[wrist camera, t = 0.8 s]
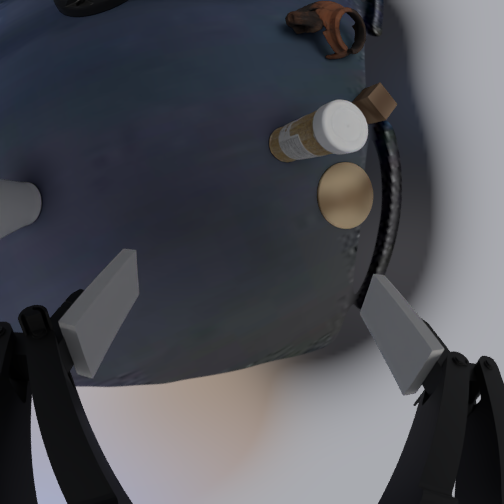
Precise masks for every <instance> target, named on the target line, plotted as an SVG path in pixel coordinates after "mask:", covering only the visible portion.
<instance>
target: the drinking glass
mask: <svg viewBox="0 0 504 504" xmlns="http://www.w3.org/2000/svg"><path fill="white" fill-rule="evenodd" d="M40 210H41V195H40V192H39V190H38V189H37V187H36V186H35V185H34V184H32V183H29V182H17V181H11V180H5V179H0V239H2V238H3V237H5V236H7V235H9V234H11V233H12V232H14V231H16V230H18V229H20V228H22V227H25V226H28V225H30V224H32V223H33V222H34V221H35V220H36V219H37V217H38V216H39V213H40Z"/></svg>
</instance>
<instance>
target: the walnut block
mask: <svg viewBox="0 0 504 504" xmlns="http://www.w3.org/2000/svg"><path fill="white" fill-rule="evenodd" d="M352 103H353V104H354V105H355V106H357V107H358V108H359V109H360V111H361V112H362V113H363V115H364V117H365V119H366V122H367V123H368V124H371V123H375V122H379V121H384V120H386V119H387V118H388V116H389V115H390V114H391V112H392V111H393V109H394V108H395V107H396V105H397V103H396V102H395V101H394V100H393V98H392V97H391V95H390V94H389V93H388V92H387V90H386V89H385V88H384V87H383V86H382V84H381V83H378V84H375V85H373V86H370V87H367V88H365V89H363V90H362V92H361V93H360V94H359V95H358V96H357V97H356V98H355V99H354V101H353V102H352Z"/></svg>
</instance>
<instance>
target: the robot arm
mask: <svg viewBox="0 0 504 504" xmlns="http://www.w3.org/2000/svg"><path fill="white" fill-rule="evenodd" d="M125 1H127V0H54V3H55V5H56V6H57V8H58V10H59V11H60V12H61V13H63V14H64V15H67V16H73V17H81V16H88V15H93V14H97V13H100V12H103V11H106V10H108V9H111V8H113V7H116V6H118V5H120V4H122V3H123V2H125ZM138 296H139V285H138V272H137V256H136V250H131V249H123V250H122V251H121V252H120V253H119V254H118V255H117V256H116V257H115V258H114V259H113V260H112V261H111V262H110V263H109V264H108V265H107V266H106V267H105V268H104V270H103V271H102V272H101V273H100V274H99V275H98V276H97V277H96V278H95V279H94V280H93V282H92V283H91V284H90V285H89V286H88V287H87V288H86V289H85V290H82V289H79V290H77V291H76V292H74V293H72V294H71V295H70V296H69V297H68V298H67V299H66V301H65V302H64V303H63V304H62V305H61V307H59V308H58V310H57V311H56V312H55V313H54V314H53V315H52V317H51V318H50V317H49V314H48V311H47V309H46V308H45V307H44V306H41V305H32V306H29V307H27V308H25V309H24V310H22V311H21V313H20V314H19V317H18V320H19V323H20V325H21V328H22V331H23V333H17V332H13V329H12V327H11V325H10V324H9V323H8V322H0V504H38V503H37V497H36V491H35V484H34V477H33V468H32V455H31V398H32V397H33V402H34V407H35V411H36V416H37V420H38V424H39V428H40V431H41V435H42V439H43V442H44V445H45V448H46V451H47V455H48V457H49V460H50V463H51V466H52V469H53V471H54V474H55V476H56V479H57V481H58V484H59V486H60V488H61V491H62V493H63V495H64V497H65V499H66V502H67V504H133V503H132V502H131V500H130V499H129V497H128V496H127V494H126V493H125V491H124V490H123V488H122V486H121V485H120V483H119V481H118V479H117V478H116V476H115V474H114V473H113V471H112V469H111V467H110V465H109V463H108V462H107V460H106V458H105V456H104V454H103V452H102V450H101V448H100V446H99V444H98V442H97V439H96V437H95V435H94V433H93V431H92V428H91V426H90V424H89V421H88V419H87V416H86V414H85V412H84V409H83V406H82V404H81V401H80V398H79V395H78V393H77V390H76V387H75V384H74V381H73V378H72V375H71V373H70V370H71V368H72V366H73V365H74V367H75V369H76V371H77V374H79V375H82V376H86V377H89V378H92V379H93V377H94V375H95V373H96V371H97V369H98V368H99V366H100V364H101V362H102V360H103V358H104V356H105V354H106V352H107V350H108V348H109V347H110V345H111V343H112V341H113V339H114V337H115V336H116V334H117V332H118V330H119V328H120V327H121V325H122V323H123V321H124V320H125V318H126V316H127V314H128V313H129V311H130V309H131V307H132V306H133V304H134V302H135V301H136V299H137V297H138ZM360 315H361V317H362V319H363V321H364V322H365V324H366V326H367V328H368V330H369V331H370V333H371V335H372V337H373V339H374V340H375V342H376V344H377V346H378V347H379V350H380V351H381V353H382V355H383V357H384V359H385V361H386V363H387V365H388V366H389V368H390V370H391V372H392V374H393V376H394V378H395V380H396V382H397V384H398V386H399V388H400V390H401V392H402V394H403V395H409V394H414V393H416V392H417V391H418V389H419V388H420V386H421V385H423V387H424V388H425V390H424V391H423V393H422V394H421V395H420V397H419V398H418V399H417V401H416V402H415V404H414V406H416V404H417V403H419V404H418V408H417V411H416V414H415V418H414V421H413V424H412V427H411V430H410V432H409V435H408V438H407V441H406V443H405V446H404V449H403V451H402V454H401V456H400V459H399V461H398V463H397V466H396V468H395V470H394V473H393V475H392V477H391V479H390V481H389V483H388V485H387V487H386V489H385V491H384V493H383V495H382V497H381V499H380V501H379V503H378V504H504V383H503V380H502V378H501V375H500V372H499V369H498V366H497V364H496V363H495V362H494V360H493V359H491V358H490V357H487V356H482V357H480V359H479V360H478V362H477V363H476V364H473V363H469V361H468V360H467V358H466V357H465V356H464V355H462V354H460V353H458V352H450V351H449V350H448V348H447V347H446V346H445V344H444V343H443V342H442V340H441V339H440V338H439V337H438V336H437V334H436V333H435V331H433V329H432V328H431V326H430V325H429V324H428V323H427V322H425V321H424V320H423V319H422V318H420V317H419V315H418V314H417V313H416V312H415V311H414V309H413V308H412V307H411V306H410V304H409V303H408V302H407V301H406V300H405V298H404V297H403V296H402V295H401V294H400V293H399V291H398V290H397V289H396V288H395V287H394V286H393V284H392V283H391V282H390V281H389V280H388V279H387V278H386V276H385V275H378V274H373V277H372V280H371V283H370V286H369V289H368V292H367V295H366V298H365V300H364V303H363V306H362V309H361V311H360ZM480 394H481V400H480V401H479V403H477V404H476V399H477V398H478V397H479V395H480ZM455 480H456V484H455V498H454V497H452V490H453V487H454V483H455Z"/></svg>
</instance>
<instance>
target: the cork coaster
mask: <svg viewBox="0 0 504 504" xmlns="http://www.w3.org/2000/svg"><path fill="white" fill-rule="evenodd" d="M317 201H318V206H319V209H320V211H321V213H322V215H323V216H324V218H325V219H326V220H327V221H328V222H329V223H330V224H332V225H334V226H336V227H339V228H343V229H350V228H353V227H356V226H358V225H359V224H361V223H362V222H363V221H364V220H365V219H366V217H367V216H368V214H369V212H370V210H371V207H372V202H373V189H372V185H371V182H370V179H369V178H368V175H367V174H366V173H365V171H364V170H363V169H362V168H360V167H359V166H357V165H355V164H353V163H348V162H342V163H337V164H334V165H332V166H331V167H329V168H328V169H327V170H326V171H325V172H324V174H323V175H322V177H321V179H320V181H319V185H318V189H317Z"/></svg>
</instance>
